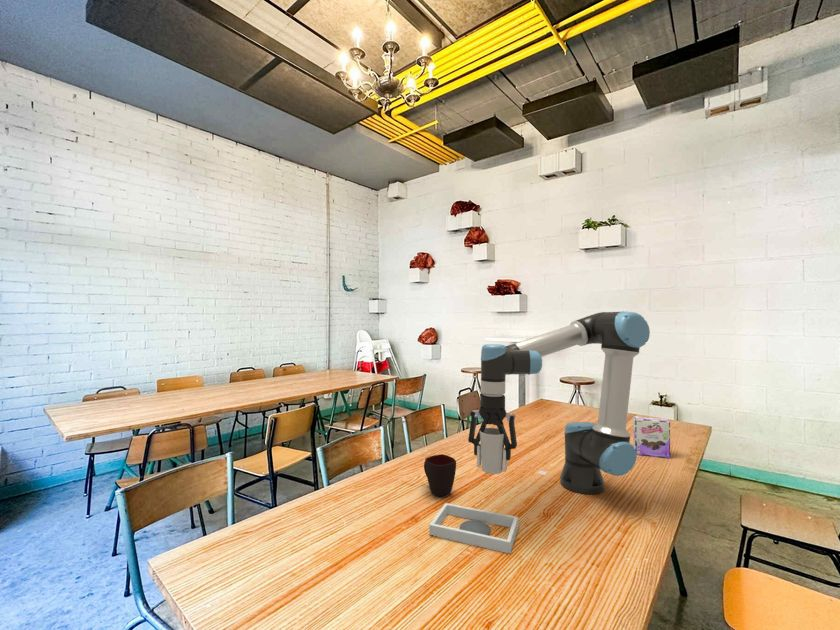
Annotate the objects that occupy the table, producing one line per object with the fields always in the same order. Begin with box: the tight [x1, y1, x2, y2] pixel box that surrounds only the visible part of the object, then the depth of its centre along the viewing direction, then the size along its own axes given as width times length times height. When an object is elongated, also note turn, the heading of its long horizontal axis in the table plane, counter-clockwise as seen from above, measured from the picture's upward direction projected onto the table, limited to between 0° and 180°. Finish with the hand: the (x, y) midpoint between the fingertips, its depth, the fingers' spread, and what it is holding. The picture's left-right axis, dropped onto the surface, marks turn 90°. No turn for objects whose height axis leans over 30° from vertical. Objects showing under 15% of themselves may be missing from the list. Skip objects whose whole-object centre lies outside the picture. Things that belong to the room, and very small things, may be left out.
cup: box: [480, 427, 505, 475], centre depth 120 cm, size 8×8×12 cm
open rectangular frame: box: [428, 502, 519, 555], centre depth 113 cm, size 23×14×3 cm, turn 67°
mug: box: [423, 454, 457, 499], centre depth 139 cm, size 10×14×12 cm
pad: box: [459, 519, 492, 536], centre depth 114 cm, size 9×9×1 cm
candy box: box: [632, 415, 671, 459], centre depth 175 cm, size 14×6×16 cm, turn 68°
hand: (491, 467), depth 120 cm, fingers closed on cup, 7 cm apart
